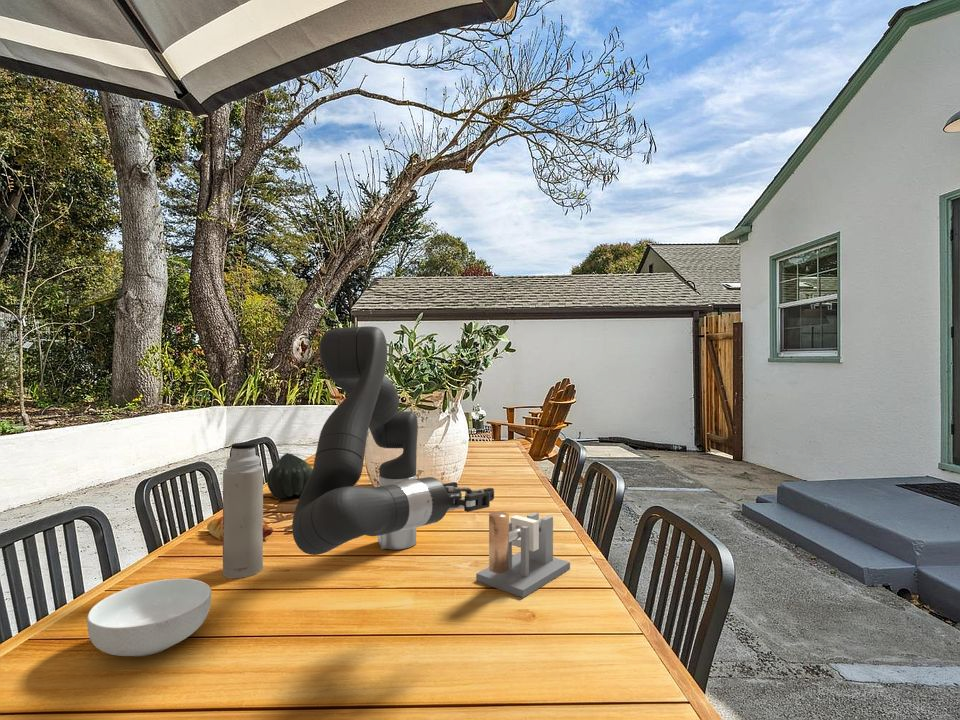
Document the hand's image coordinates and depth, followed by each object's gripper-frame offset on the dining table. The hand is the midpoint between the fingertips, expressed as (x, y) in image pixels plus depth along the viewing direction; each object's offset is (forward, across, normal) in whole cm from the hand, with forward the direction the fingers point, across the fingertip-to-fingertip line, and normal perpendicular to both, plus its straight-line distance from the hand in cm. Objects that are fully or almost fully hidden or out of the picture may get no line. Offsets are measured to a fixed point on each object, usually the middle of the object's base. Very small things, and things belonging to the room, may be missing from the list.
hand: (473, 490), depth 94 cm
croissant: (-4, +73, +21) cm, 76 cm away
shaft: (+18, 0, +16) cm, 24 cm away
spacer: (+19, 0, +14) cm, 24 cm away
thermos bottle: (-15, +51, +22) cm, 58 cm away
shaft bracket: (+20, 0, +20) cm, 28 cm away
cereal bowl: (-39, +36, +24) cm, 58 cm away
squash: (+27, +97, +18) cm, 102 cm away
